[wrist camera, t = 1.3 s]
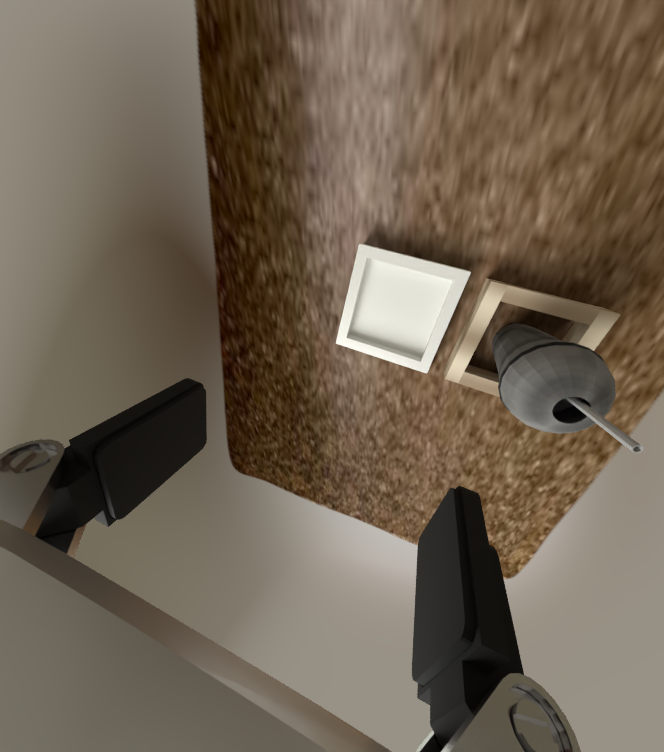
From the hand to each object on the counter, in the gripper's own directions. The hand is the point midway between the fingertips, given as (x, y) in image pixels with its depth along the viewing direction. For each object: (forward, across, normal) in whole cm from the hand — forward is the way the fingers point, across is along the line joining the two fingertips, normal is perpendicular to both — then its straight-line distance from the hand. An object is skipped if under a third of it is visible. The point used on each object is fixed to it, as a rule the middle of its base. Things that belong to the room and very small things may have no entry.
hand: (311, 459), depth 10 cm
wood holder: (+28, -14, 0) cm, 32 cm away
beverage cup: (+29, -14, 0) cm, 32 cm away
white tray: (+29, 0, 0) cm, 29 cm away
